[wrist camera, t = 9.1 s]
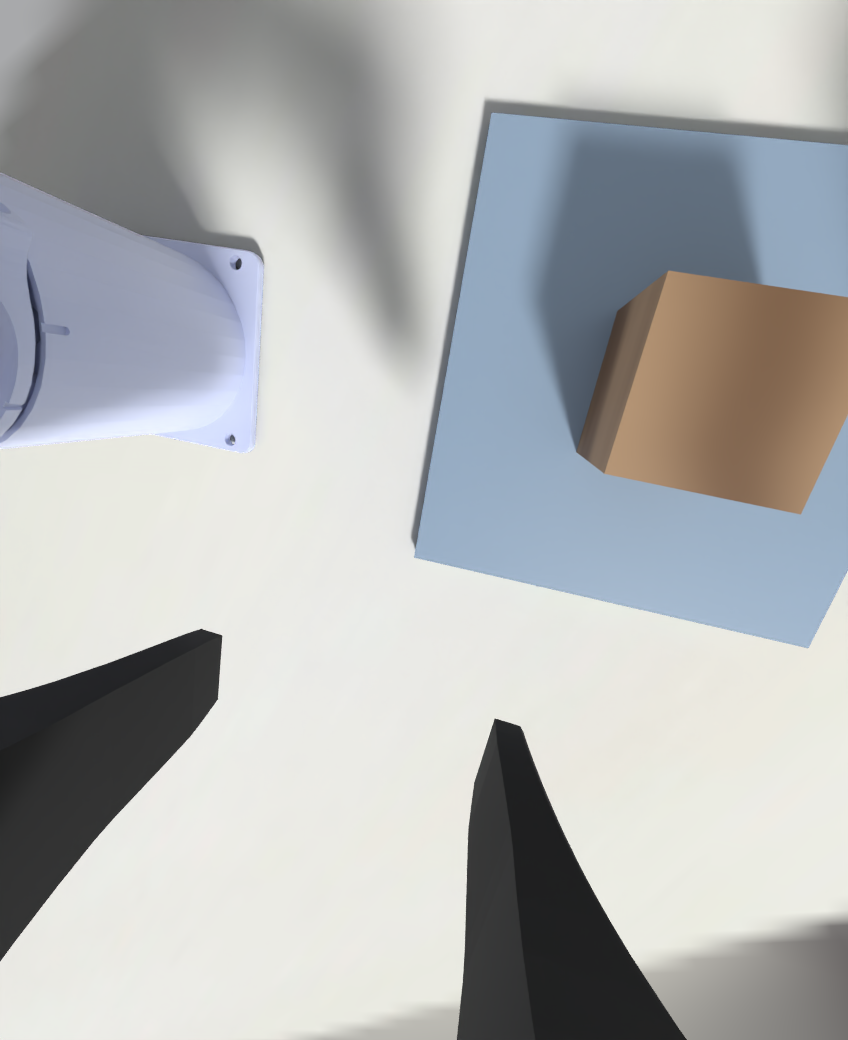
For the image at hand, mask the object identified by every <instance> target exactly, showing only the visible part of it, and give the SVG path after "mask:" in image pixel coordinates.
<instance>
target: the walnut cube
mask: <svg viewBox="0 0 848 1040" xmlns="http://www.w3.org/2000/svg"><path fill="white" fill-rule="evenodd" d="M847 415H848V297H844V296H837V295H830V294H823V293H817V292H810V291H803V290H796V289H789V288H783V287H776V286H769V285H762V284H756V283H749V282H742V281H735V280H729V279H722V278H715V277H708V276H702V275H695V274H688V273H681V272H675V271H667V272H666V273H665V274H663V275H662V276H661V277H660V278H658V279H657V280H656V281H655V282H653V283H652V284H651V285H650V286H648V287H647V288H646V289H644V290H643V291H642V292H641V293H639V294H638V295H637V296H636V297H634V298H633V299H632V300H631V301H629V302H628V303H627V304H626V305H624V306H623V307H622V308H621V309H619V310H618V311H617V314H616V317H615V321H614V324H613V327H612V331H611V334H610V338H609V341H608V345H607V348H606V352H605V355H604V358H603V362H602V365H601V369H600V372H599V376H598V379H597V382H596V386H595V389H594V393H593V396H592V400H591V403H590V407H589V410H588V413H587V417H586V420H585V424H584V427H583V431H582V434H581V438H580V441H579V444H578V448H577V451H576V452H577V453H578V454H579V455H580V456H582V457H583V458H584V459H586V460H587V461H588V462H590V463H591V464H592V465H593V466H595V467H596V468H597V469H599V470H600V471H601V472H603V473H604V474H608V475H612V476H617V477H622V478H627V479H632V480H636V481H641V482H646V483H651V484H656V485H661V486H665V487H670V488H675V489H680V490H685V491H689V492H694V493H699V494H704V495H709V496H713V497H718V498H723V499H728V500H733V501H738V502H742V503H747V504H752V505H757V506H762V507H766V508H771V509H776V510H781V511H786V512H791V513H795V514H800V515H801V513H802V511H803V509H804V507H805V505H806V503H807V500H808V498H809V496H810V494H811V492H812V490H813V488H814V486H815V483H816V481H817V479H818V477H819V475H820V473H821V471H822V469H823V466H824V464H825V462H826V460H827V458H828V456H829V454H830V452H831V449H832V447H833V445H834V443H835V441H836V439H837V437H838V435H839V432H840V430H841V428H842V426H843V424H844V422H845V420H846V418H847Z"/></svg>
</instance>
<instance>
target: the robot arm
mask: <svg viewBox="0 0 848 1040" xmlns="http://www.w3.org/2000/svg"><path fill="white" fill-rule="evenodd" d="M238 259H241V261H242V265H241V268H240V269H239V270H237V269H236V261H237V260H238ZM263 276H264V266H263V262H262V260H261V258H260V257H259V256H258V255H257V254H255V253H254V252H251V251H249V250H242V249H235V248H228V247H221V246H214V245H207V244H200V243H193V242H186V241H179V240H172V239H165V238H158V237H151V236H144V235H140V234H137V233H135V232H133V231H131V230H128V229H126V228H124V227H122V226H120V225H117V224H115V223H113V222H111V221H108V220H106V219H104V218H102V217H99V216H97V215H95V214H93V213H90V212H88V211H86V210H84V209H82V208H79V207H77V206H75V205H73V204H70V203H68V202H66V201H64V200H61V199H59V198H57V197H55V196H52V195H50V194H48V193H46V192H44V191H41V190H39V189H37V188H35V187H32V186H30V185H28V184H26V183H23V182H21V181H19V180H17V179H14V178H12V177H10V176H8V175H6V174H3V173H1V172H0V449H8V448H18V447H28V446H38V445H48V444H58V443H68V442H78V441H88V440H98V439H108V438H118V437H128V436H138V435H148V434H152V435H157V436H162V437H167V438H171V439H176V440H181V441H186V442H190V443H195V444H200V445H205V446H210V447H214V448H219V449H224V450H229V451H233V452H238V453H247V452H250V451H252V450H253V448H254V446H255V438H256V418H257V397H258V377H259V357H260V337H261V316H262V296H263ZM231 434H232V435H233V436H234V437H235V440H236V441H235V444H232V442H231V440H230V436H231ZM221 646H222V635H219V634H216V633H212V632H209V631H206V630H203V629H200V630H197V631H193V632H190V633H188V634H185V635H182V636H179V637H177V638H174V639H171V640H169V641H166V642H163V643H161V644H158V645H156V646H153V647H150V648H148V649H145V650H142V651H140V652H137V653H134V654H132V655H129V656H126V657H124V658H121V659H118V660H116V661H113V662H110V663H108V664H105V665H102V666H99V667H96V668H93V669H90V670H87V671H84V672H81V673H78V674H75V675H72V676H70V677H67V678H64V679H61V680H58V681H55V682H52V683H49V684H45V685H42V686H39V687H35V688H32V689H29V690H25V691H22V692H18V693H15V694H11V695H7V696H4V697H0V961H1V960H2V958H3V957H4V956H5V954H6V953H7V951H8V950H9V949H10V947H11V946H12V945H13V943H14V942H15V941H16V939H17V938H18V937H19V935H20V934H21V933H22V932H23V930H24V929H25V928H26V926H27V925H28V924H29V922H30V921H31V920H32V919H33V917H34V916H35V915H36V913H37V912H38V911H39V909H40V908H41V907H42V906H43V904H44V903H45V902H46V900H47V899H48V898H49V896H50V895H51V894H52V893H53V891H54V890H55V889H56V887H57V886H58V885H59V884H60V882H61V881H62V880H63V879H64V877H65V876H66V875H67V874H68V872H69V871H70V870H71V869H72V867H73V866H74V865H75V864H76V862H77V861H78V860H79V859H80V857H81V856H82V855H83V854H84V852H85V851H86V850H87V849H88V847H89V846H90V845H91V844H92V842H93V841H94V840H95V839H96V838H97V837H98V835H99V834H100V833H101V832H102V831H103V830H104V829H105V827H106V826H107V825H108V824H109V823H110V822H111V821H112V820H113V818H114V817H115V816H116V815H117V814H118V813H119V812H120V811H121V810H122V809H123V808H124V807H125V806H126V805H127V804H128V802H129V801H130V800H131V799H132V798H133V797H134V796H135V795H136V794H137V793H138V792H139V791H140V790H141V789H142V788H143V787H144V786H145V784H146V783H147V782H148V781H149V780H150V779H151V778H152V777H153V776H154V775H155V774H156V773H157V772H158V771H159V770H160V769H161V767H162V766H163V765H164V764H165V763H166V762H167V761H168V760H169V759H170V758H171V757H172V756H173V755H174V753H175V752H176V751H177V750H178V749H179V748H180V747H181V746H182V745H183V744H184V743H185V742H186V740H187V739H188V738H189V737H190V736H191V735H192V734H193V732H194V731H195V730H196V728H197V727H198V726H199V724H200V723H201V722H202V720H203V719H204V718H205V716H206V715H207V714H208V712H209V711H210V709H211V708H212V707H213V705H214V704H215V702H216V701H217V700H218V688H219V674H220V660H221ZM457 1040H687V1039H686V1038H685V1037H684V1035H683V1034H682V1032H681V1031H680V1030H679V1028H678V1027H677V1025H676V1024H675V1022H674V1021H673V1019H672V1018H671V1016H670V1015H669V1013H668V1012H667V1010H666V1009H665V1007H664V1006H663V1004H662V1003H661V1001H660V1000H659V998H658V997H657V995H656V993H655V992H654V990H653V989H652V987H651V986H650V984H649V983H648V981H647V980H646V978H645V977H644V975H643V974H642V972H641V971H640V969H639V967H638V966H637V964H636V963H635V961H634V960H633V958H632V957H631V955H630V954H629V952H628V950H627V949H626V947H625V945H624V944H623V942H622V940H621V939H620V937H619V935H618V934H617V932H616V930H615V929H614V927H613V925H612V924H611V922H610V920H609V918H608V917H607V915H606V913H605V911H604V910H603V908H602V906H601V904H600V903H599V901H598V899H597V897H596V895H595V894H594V892H593V890H592V888H591V886H590V884H589V883H588V881H587V879H586V877H585V875H584V873H583V871H582V869H581V867H580V865H579V863H578V861H577V859H576V857H575V855H574V853H573V851H572V849H571V847H570V845H569V843H568V841H567V839H566V837H565V835H564V833H563V830H562V828H561V826H560V824H559V822H558V819H557V817H556V815H555V813H554V810H553V808H552V806H551V803H550V801H549V799H548V796H547V794H546V792H545V789H544V787H543V784H542V782H541V780H540V777H539V774H538V772H537V769H536V767H535V764H534V761H533V759H532V756H531V753H530V750H529V748H528V745H527V742H526V739H525V736H524V733H523V730H522V729H521V727H520V726H518V725H514V724H511V723H508V722H505V721H501V720H498V719H495V720H494V723H493V726H492V729H491V732H490V735H489V739H488V742H487V745H486V748H485V751H484V754H483V757H482V761H481V764H480V767H479V770H478V773H477V776H476V779H475V783H474V790H473V798H472V805H471V813H470V821H469V831H468V861H467V895H466V931H465V957H464V973H463V986H462V995H461V1005H460V1015H459V1025H458V1035H457Z"/></svg>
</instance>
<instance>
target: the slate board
mask: <svg viewBox="0 0 848 1040" xmlns="http://www.w3.org/2000/svg"><path fill="white" fill-rule="evenodd" d="M667 271H675V272H681V273H688V274H695V275H702V276H708V277H715V278H722V279H729V280H735V281H742V282H749V283H756V284H762V285H769V286H776V287H783V288H789V289H796V290H803V291H810V292H817V293H823V294H830V295H837V296H844V297H848V145H840V144H829V143H818V142H807V141H796V140H785V139H775V138H764V137H753V136H742V135H731V134H720V133H709V132H698V131H687V130H676V129H666V128H655V127H644V126H633V125H622V124H611V123H600V122H589V121H578V120H567V119H556V118H546V117H535V116H524V115H513V114H502V113H491V119H490V125H489V131H488V136H487V142H486V148H485V154H484V159H483V165H482V171H481V177H480V182H479V188H478V194H477V199H476V205H475V211H474V217H473V222H472V228H471V234H470V240H469V245H468V251H467V257H466V263H465V268H464V274H463V280H462V286H461V291H460V297H459V303H458V309H457V314H456V320H455V326H454V332H453V337H452V343H451V349H450V355H449V360H448V366H447V372H446V378H445V383H444V389H443V395H442V400H441V406H440V412H439V418H438V423H437V429H436V435H435V441H434V446H433V452H432V458H431V464H430V469H429V475H428V481H427V487H426V492H425V498H424V504H423V510H422V515H421V521H420V527H419V533H418V538H417V544H416V550H415V556H414V558H419V559H423V560H427V561H432V562H436V563H440V564H445V565H449V566H453V567H458V568H462V569H466V570H471V571H475V572H479V573H484V574H488V575H492V576H497V577H501V578H505V579H510V580H514V581H518V582H523V583H527V584H532V585H536V586H540V587H545V588H549V589H553V590H558V591H562V592H566V593H571V594H575V595H579V596H584V597H588V598H592V599H597V600H601V601H605V602H610V603H614V604H618V605H623V606H627V607H631V608H636V609H640V610H644V611H649V612H653V613H657V614H662V615H666V616H670V617H675V618H679V619H684V620H688V621H692V622H697V623H701V624H705V625H710V626H714V627H718V628H723V629H727V630H731V631H736V632H740V633H744V634H749V635H753V636H757V637H762V638H766V639H770V640H775V641H779V642H783V643H788V644H792V645H796V646H801V647H805V648H809V646H810V644H811V642H812V640H813V638H814V636H815V634H816V632H817V630H818V628H819V626H820V624H821V622H822V620H823V618H824V616H825V614H826V612H827V610H828V608H829V606H830V604H831V602H832V600H833V598H834V596H835V595H836V593H837V591H838V589H839V587H840V585H841V583H842V581H843V579H844V577H845V575H846V573H847V571H848V415H847V418H846V420H845V422H844V424H843V426H842V428H841V430H840V432H839V435H838V437H837V439H836V441H835V443H834V445H833V447H832V449H831V452H830V454H829V456H828V458H827V460H826V462H825V464H824V466H823V469H822V471H821V473H820V475H819V477H818V479H817V481H816V483H815V486H814V488H813V490H812V492H811V494H810V496H809V498H808V500H807V503H806V505H805V507H804V509H803V511H802V513H801V515H800V514H795V513H791V512H786V511H781V510H776V509H771V508H766V507H762V506H757V505H752V504H747V503H742V502H738V501H733V500H728V499H723V498H718V497H713V496H709V495H704V494H699V493H694V492H689V491H685V490H680V489H675V488H670V487H665V486H661V485H656V484H651V483H646V482H641V481H636V480H632V479H627V478H622V477H617V476H612V475H608V474H604V473H603V472H601V471H600V470H599V469H597V468H596V467H595V466H593V465H592V464H591V463H590V462H588V461H587V460H586V459H584V458H583V457H582V456H580V455H579V454H578V453H577V452H576V451H577V448H578V444H579V441H580V438H581V434H582V431H583V427H584V424H585V420H586V417H587V413H588V410H589V407H590V403H591V400H592V396H593V393H594V389H595V386H596V382H597V379H598V376H599V372H600V369H601V365H602V362H603V358H604V355H605V352H606V348H607V345H608V341H609V338H610V334H611V331H612V327H613V324H614V321H615V317H616V314H617V311H618V310H619V309H621V308H622V307H623V306H624V305H626V304H627V303H628V302H629V301H631V300H632V299H633V298H634V297H636V296H637V295H638V294H639V293H641V292H642V291H643V290H644V289H646V288H647V287H648V286H650V285H651V284H652V283H653V282H655V281H656V280H657V279H658V278H660V277H661V276H662V275H663V274H665V273H666V272H667Z"/></svg>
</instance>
